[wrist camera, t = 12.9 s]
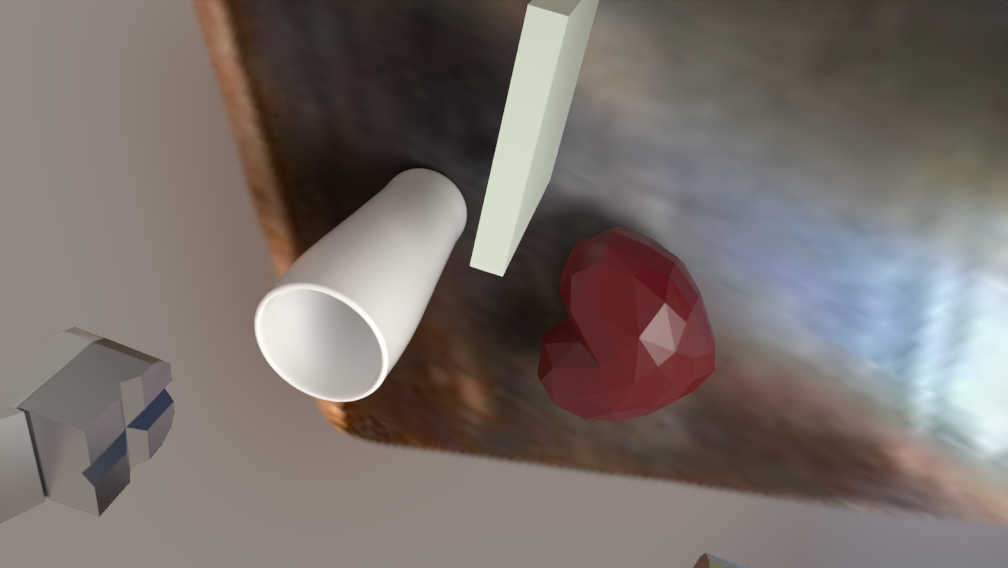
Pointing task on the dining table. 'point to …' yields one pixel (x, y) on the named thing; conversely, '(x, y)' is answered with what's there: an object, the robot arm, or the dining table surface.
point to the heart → (625, 330)
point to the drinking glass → (361, 289)
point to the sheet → (531, 124)
